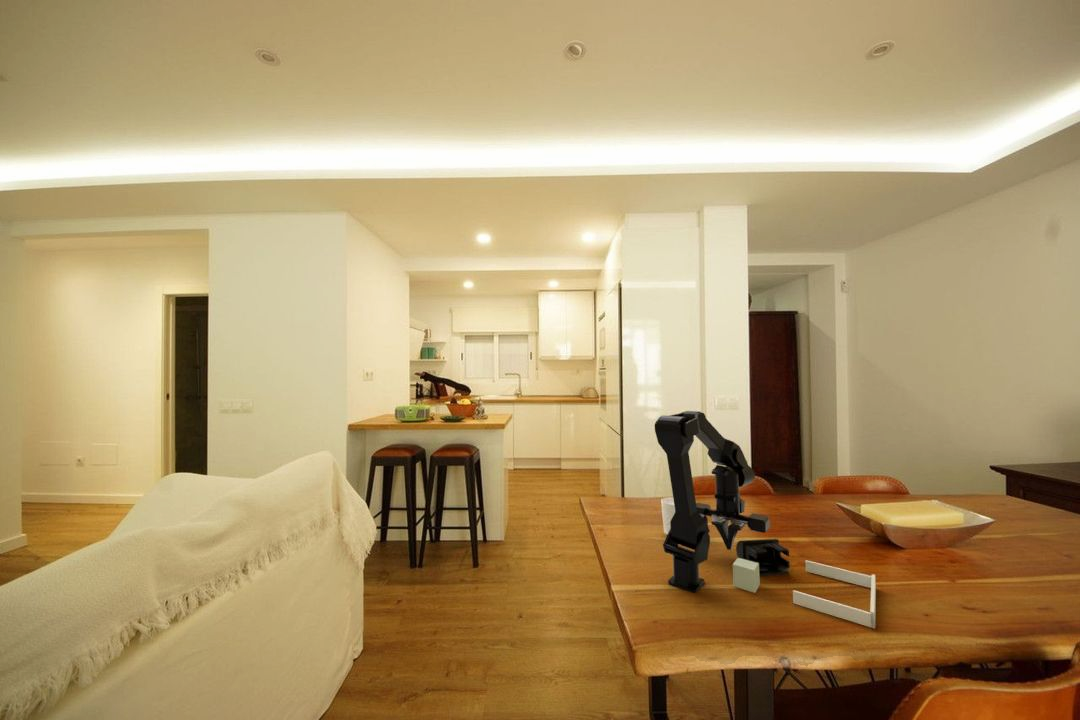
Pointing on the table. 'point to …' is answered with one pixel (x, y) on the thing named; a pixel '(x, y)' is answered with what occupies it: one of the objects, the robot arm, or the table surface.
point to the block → (746, 575)
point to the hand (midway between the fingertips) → (729, 549)
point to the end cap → (765, 555)
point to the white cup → (667, 512)
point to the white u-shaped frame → (837, 608)
